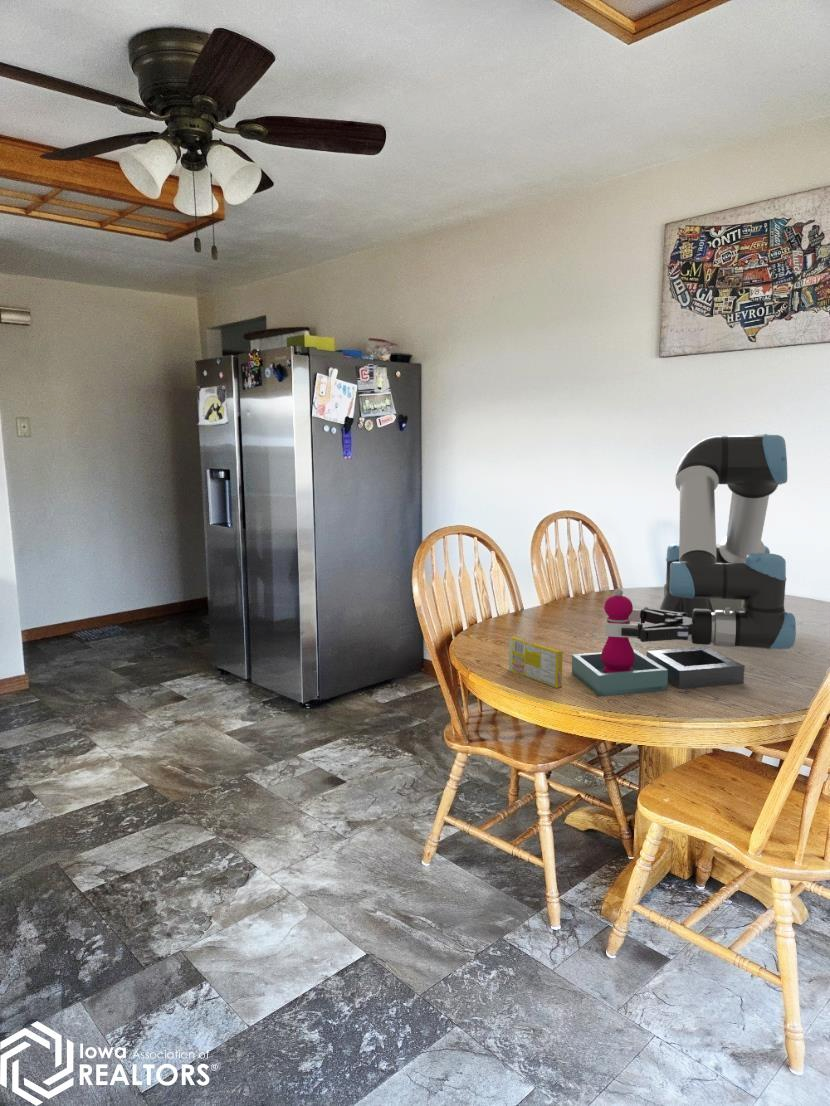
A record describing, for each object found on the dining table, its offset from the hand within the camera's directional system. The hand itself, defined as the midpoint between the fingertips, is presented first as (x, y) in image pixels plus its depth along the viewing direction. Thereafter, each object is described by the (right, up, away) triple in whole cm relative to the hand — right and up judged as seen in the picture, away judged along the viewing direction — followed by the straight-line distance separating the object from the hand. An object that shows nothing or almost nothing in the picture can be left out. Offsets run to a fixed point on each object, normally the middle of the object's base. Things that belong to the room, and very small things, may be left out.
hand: (607, 621), depth 157 cm
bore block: (+20, -12, +4) cm, 24 cm away
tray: (+3, -13, +1) cm, 14 cm away
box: (+55, 0, +78) cm, 95 cm away
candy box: (-15, -14, +5) cm, 21 cm away
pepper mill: (+3, -13, +1) cm, 13 cm away
